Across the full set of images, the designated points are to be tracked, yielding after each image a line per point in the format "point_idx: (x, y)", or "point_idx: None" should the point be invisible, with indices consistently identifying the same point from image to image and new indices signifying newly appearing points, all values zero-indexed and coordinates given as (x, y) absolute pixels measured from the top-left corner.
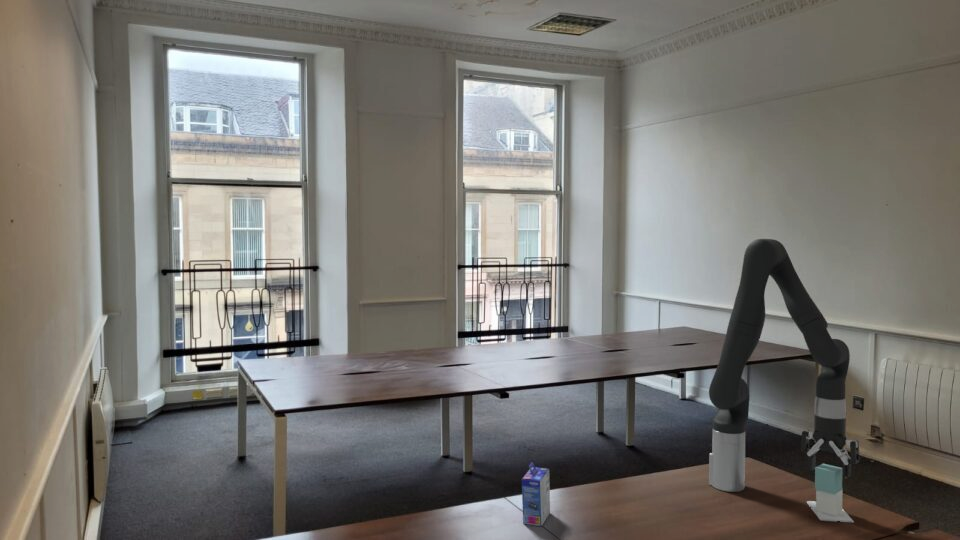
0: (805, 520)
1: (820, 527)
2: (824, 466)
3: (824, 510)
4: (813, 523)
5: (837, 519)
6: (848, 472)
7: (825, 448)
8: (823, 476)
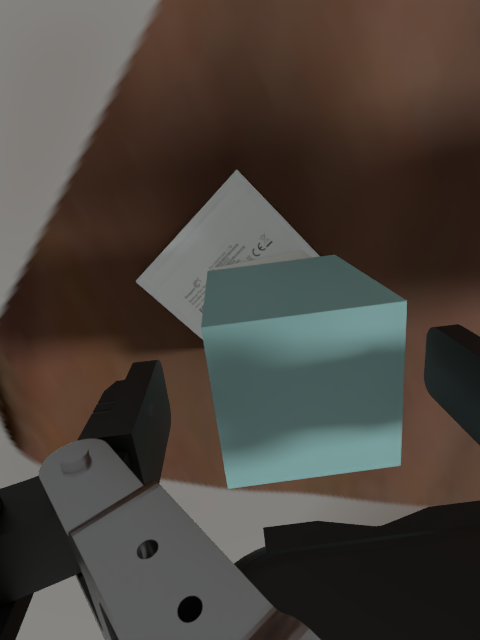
0: (281, 96)
1: (186, 70)
2: (355, 404)
3: (265, 260)
4: (236, 93)
5: (188, 238)
6: (97, 405)
7: (444, 557)
8: (301, 290)
